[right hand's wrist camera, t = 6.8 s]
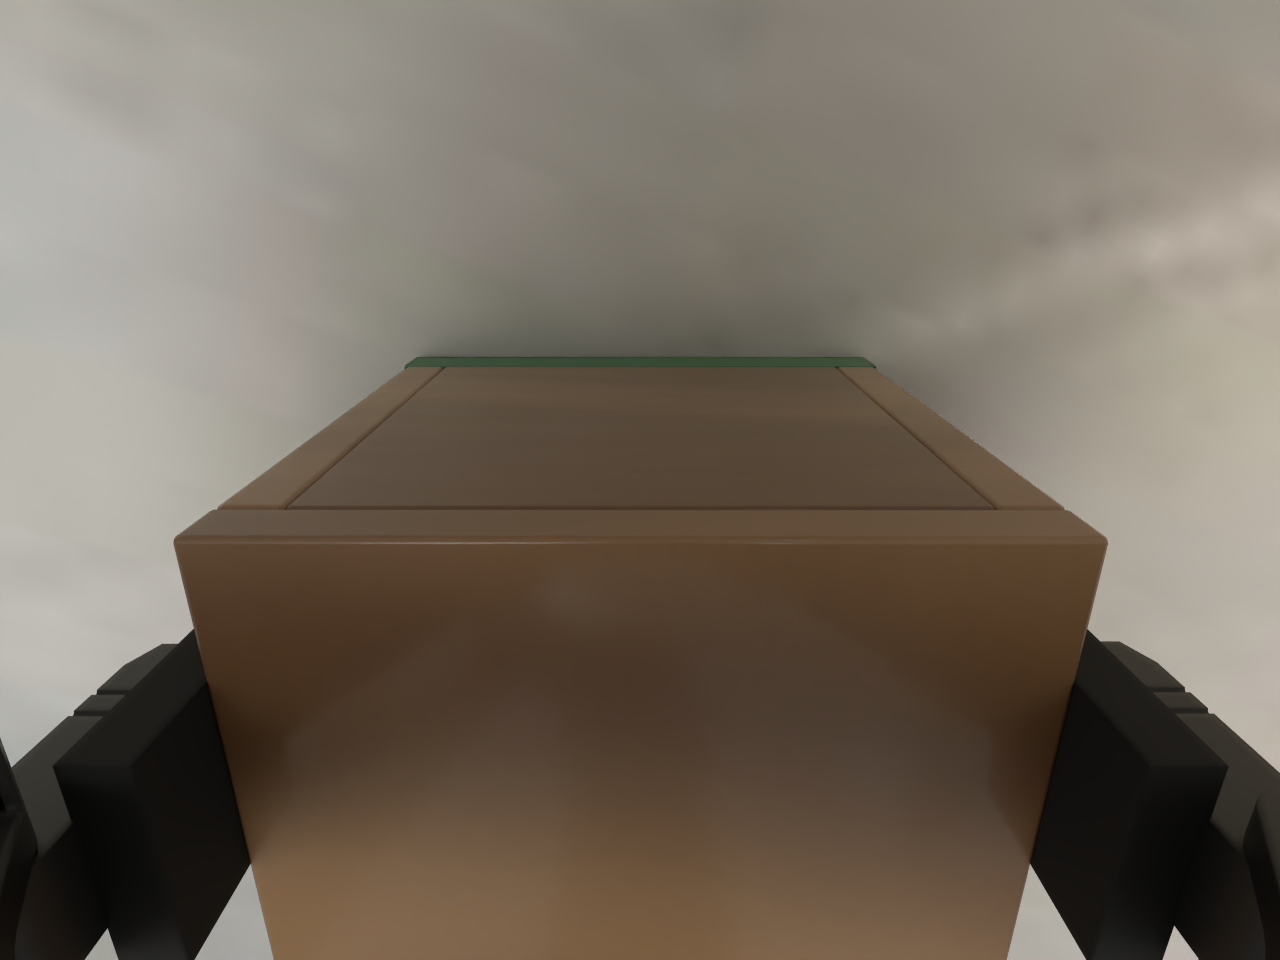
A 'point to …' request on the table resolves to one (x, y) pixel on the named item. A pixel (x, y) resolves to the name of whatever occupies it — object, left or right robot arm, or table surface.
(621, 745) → the cabinet
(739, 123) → the table surface
